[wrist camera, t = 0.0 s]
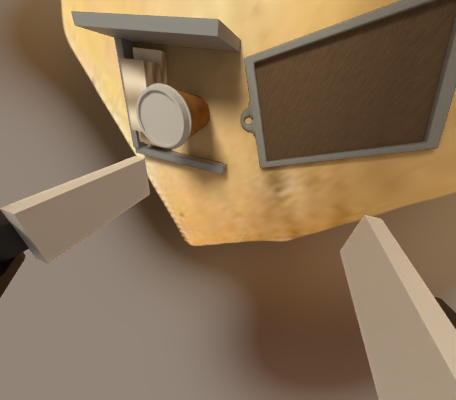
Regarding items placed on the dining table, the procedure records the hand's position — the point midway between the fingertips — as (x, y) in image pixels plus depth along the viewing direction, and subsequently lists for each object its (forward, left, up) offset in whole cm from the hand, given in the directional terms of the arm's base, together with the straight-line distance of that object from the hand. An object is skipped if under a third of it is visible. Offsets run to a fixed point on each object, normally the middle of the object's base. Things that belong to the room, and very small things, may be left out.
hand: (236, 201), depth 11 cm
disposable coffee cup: (0, -17, -28) cm, 33 cm away
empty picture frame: (-5, +7, -29) cm, 30 cm away
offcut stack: (-1, -27, -28) cm, 39 cm away
